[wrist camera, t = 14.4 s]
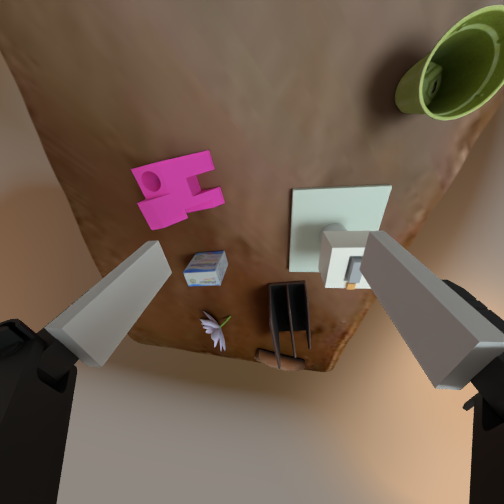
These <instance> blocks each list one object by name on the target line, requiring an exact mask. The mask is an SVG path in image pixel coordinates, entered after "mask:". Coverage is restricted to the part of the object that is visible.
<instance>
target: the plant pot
mask: <svg viewBox="0 0 504 504" xmlns="http://www.w3.org/2000/svg"><path fill="white" fill-rule="evenodd" d="M427 67H429V69H427ZM435 81H436V82H437V85H436V89H435V91H434V92H433V93H432V89H433V87H434V84H435ZM503 84H504V5H493V6H488V7H485V8H482V9H479V10H477V11H475V12H473V13H471V14H469V15H468V16H466V17H464V18H463V19H462V20H460V21H459V22H457V23H456V24H455V25H454V26H453V27H451V28H450V29H449V30H448V31H447V32H446V33H445V34H444V35H443V36H442V38H441V39H440V40H439V41H438V43H437V44H436V45H435V46H434V48H433V49H432V51H431V52H430V53H429V54H427V55H426V56H425V57H424V58H423V59H421V60H420V61H419V62H418V63H416V64H415V65H414V66H413V67H411V68H410V69H409V70H408V71H407V72H406V74H405V75H404V76H403V77H402V79H401V80H400V82H399V84H398V86H397V89H396V93H395V103H396V105H397V107H398V108H399V110H400V111H401V112H403V113H406V114H426V115H427V116H429V117H430V118H432V119H436V120H453V119H457V118H460V117H462V116H465V115H467V114H469V113H471V112H473V111H474V110H476V109H478V108H479V107H480V106H482V105H483V104H484V103H486V102H487V101H488V100H489V99H490V98H491V97H492V96H493V95H494V94H495V93H496V92H497V91H498V90H499V89H500V88H501V86H502V85H503Z"/></svg>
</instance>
